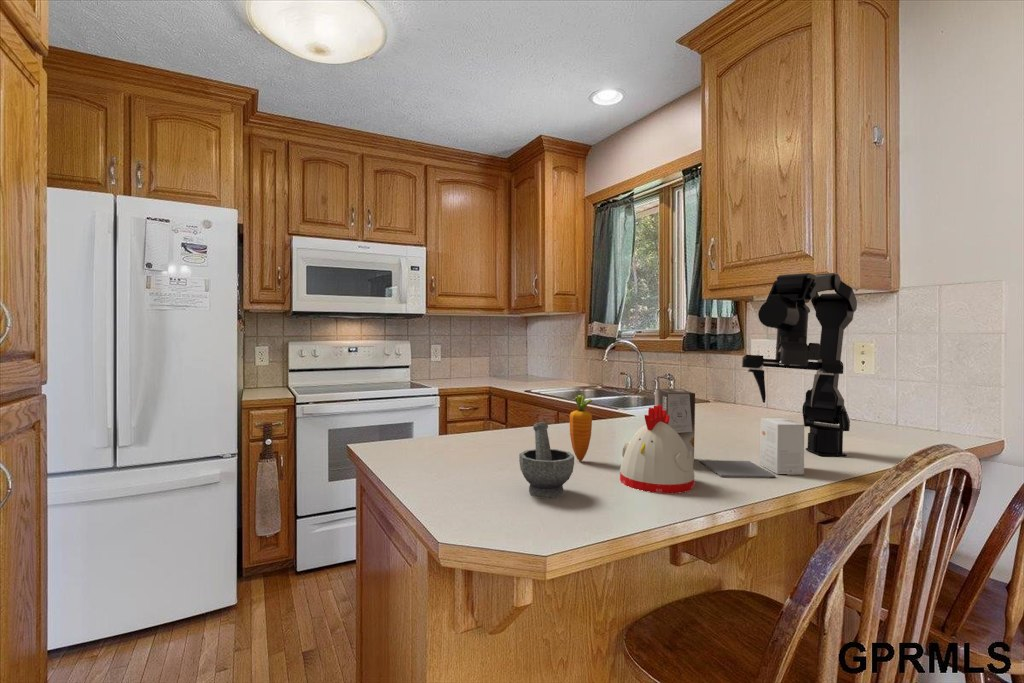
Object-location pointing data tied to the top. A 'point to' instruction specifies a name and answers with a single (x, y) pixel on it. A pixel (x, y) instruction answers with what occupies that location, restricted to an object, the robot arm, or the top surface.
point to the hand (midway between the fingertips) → (787, 404)
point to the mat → (736, 468)
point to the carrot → (580, 428)
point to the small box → (782, 446)
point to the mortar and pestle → (545, 466)
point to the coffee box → (679, 413)
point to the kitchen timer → (657, 457)
